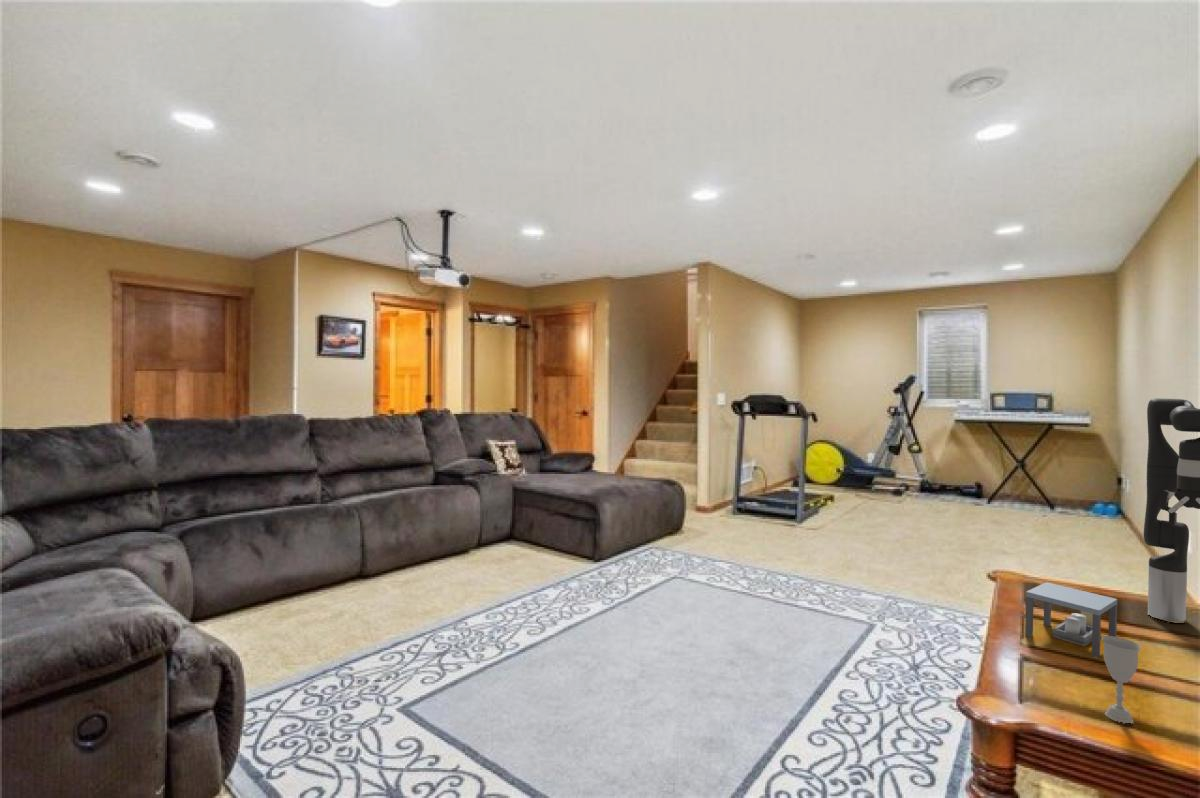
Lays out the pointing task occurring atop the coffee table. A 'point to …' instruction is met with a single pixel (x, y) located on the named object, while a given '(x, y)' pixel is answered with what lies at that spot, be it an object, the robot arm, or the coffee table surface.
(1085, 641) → the tray
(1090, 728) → the coffee table surface
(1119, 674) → the chalice
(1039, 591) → the grey side table
